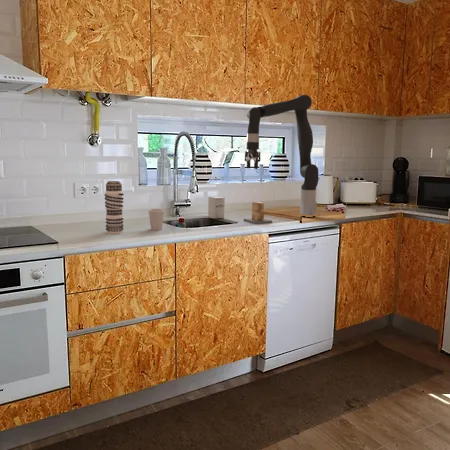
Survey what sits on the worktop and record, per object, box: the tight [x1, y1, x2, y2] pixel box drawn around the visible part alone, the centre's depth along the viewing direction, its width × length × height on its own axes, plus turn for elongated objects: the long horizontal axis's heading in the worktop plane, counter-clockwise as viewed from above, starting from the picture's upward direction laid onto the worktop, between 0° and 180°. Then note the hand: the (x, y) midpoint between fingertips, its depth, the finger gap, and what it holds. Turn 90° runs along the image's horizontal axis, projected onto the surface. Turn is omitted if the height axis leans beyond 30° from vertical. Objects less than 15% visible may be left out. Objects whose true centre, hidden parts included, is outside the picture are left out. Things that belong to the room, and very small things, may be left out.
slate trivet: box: [243, 217, 273, 225], centre depth 272 cm, size 12×12×1 cm
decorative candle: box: [104, 180, 125, 235], centre depth 227 cm, size 9×9×25 cm
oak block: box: [251, 201, 265, 220], centre depth 271 cm, size 5×5×10 cm
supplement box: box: [207, 196, 225, 220], centre depth 284 cm, size 7×7×13 cm
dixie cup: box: [148, 208, 166, 231], centre depth 240 cm, size 8×8×10 cm
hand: (252, 168), depth 283 cm, fingers open, 8 cm apart
